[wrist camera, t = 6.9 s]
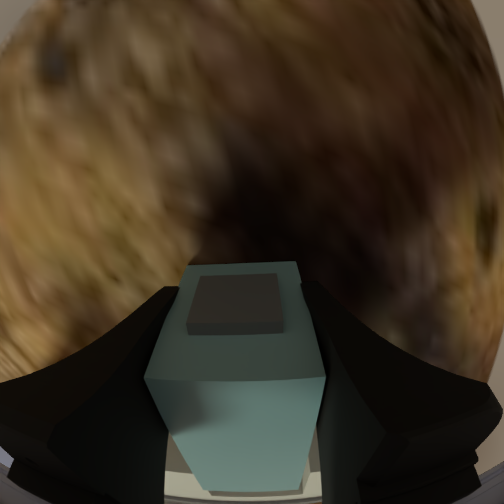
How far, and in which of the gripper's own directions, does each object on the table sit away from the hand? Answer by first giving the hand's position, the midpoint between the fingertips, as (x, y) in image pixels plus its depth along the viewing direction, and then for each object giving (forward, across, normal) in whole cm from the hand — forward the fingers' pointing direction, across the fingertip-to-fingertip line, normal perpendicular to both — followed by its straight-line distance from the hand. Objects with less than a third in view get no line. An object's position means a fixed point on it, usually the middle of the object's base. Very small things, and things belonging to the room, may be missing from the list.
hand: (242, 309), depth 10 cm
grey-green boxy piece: (+1, 0, +3) cm, 3 cm away
